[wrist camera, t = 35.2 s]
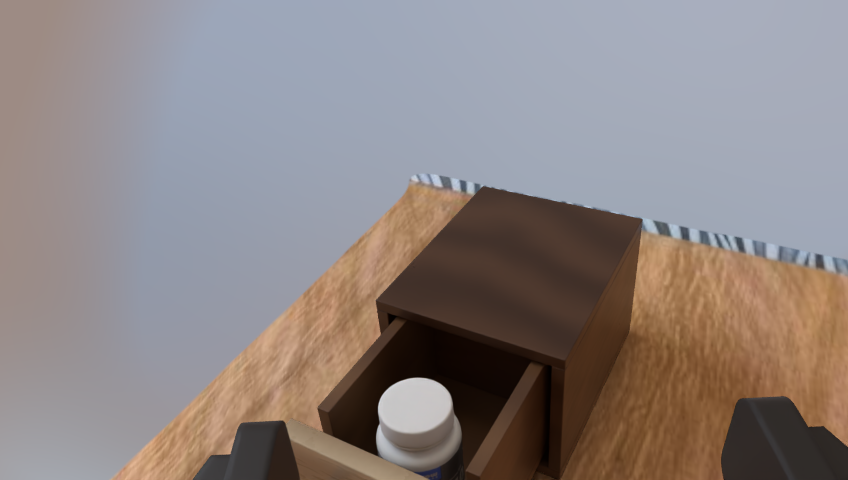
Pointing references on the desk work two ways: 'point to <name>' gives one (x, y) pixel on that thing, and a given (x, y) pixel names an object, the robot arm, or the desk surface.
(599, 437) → the desk surface
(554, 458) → the cabinet
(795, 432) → the robot arm
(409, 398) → the pill bottle
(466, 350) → the drawer
